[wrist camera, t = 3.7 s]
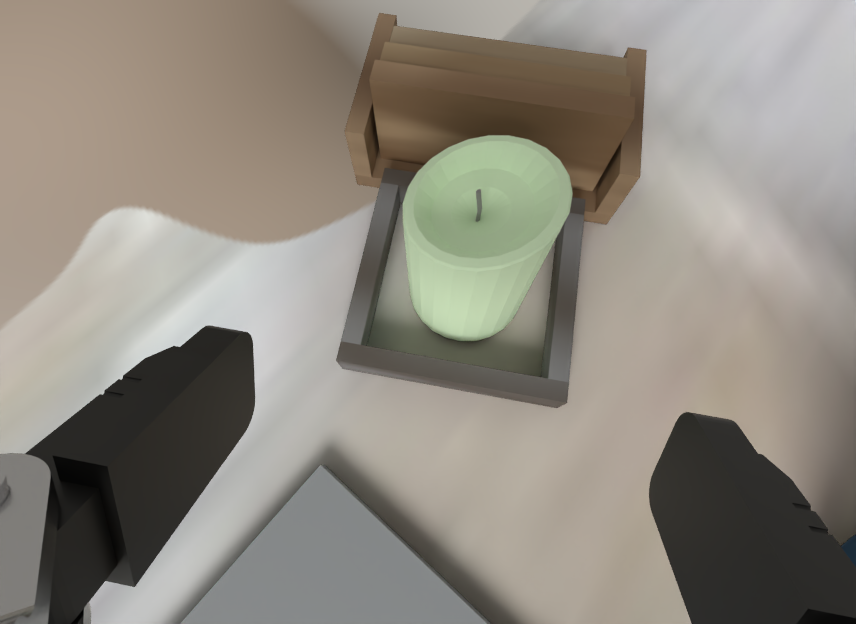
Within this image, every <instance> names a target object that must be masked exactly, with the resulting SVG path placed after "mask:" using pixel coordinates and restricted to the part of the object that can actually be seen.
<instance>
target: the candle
mask: <svg viewBox="0 0 856 624" xmlns="http://www.w3.org/2000/svg"><path fill="white" fill-rule="evenodd" d="M572 195H573V192H572V187H571V182H570V176H569V174H568V173H567V171H566V169H565V167H564V166H563V164H562V162H561V161H560V160H559V159H558V158H557V157H556V156H555V155H554V154H553V153H551V152H550V151H549V150H548V149H547V148H545V147H543V146H541V145H539V144H537V143H535V142H533V141H531V140H528V139H524V138H519V137H514V136H510V135H488V136H483V137H478V138H473V139H468V140H465V141H463V142H460V143H458V144H455V145H453V146H450V147H448V148H446V149H445V150H443V151H442V152H440V153H439V154H437V155H436V156H434V157H432V158H431V159H430V160H429V161H428V162H427V163H426V164H425V165H424V166H423V167H422V168H421V169H420V170H419V171H418V172H417V174H416V175H415V177H414V178H413V180H412V181H411V183H410V185H409V186H408V188H407V192H406V195H405V198H404V201H403V229H404V239H405V249H406V259H407V269H408V279H409V289H410V297H411V300H412V303H413V307H414V309H415V311H416V312H417V314H418V316H419V317H420V319H421V320H422V322H424V323H425V324H426V325H427V326H428V327H429V328H430V329H431V330H432V331H434V332H436V333H438V334H440V335H442V336H443V337H445V338H449V339H453V340H457V341H478V340H481V339H485V338H488V337H491V336H493V335H494V334H496V333H498V332H500V331H501V330H503V329H504V328H505V327H506V326H507V325H508V324H509V323H510V322H511V320H512V319H513V318H514V316H515V314H516V312H517V310H518V308H519V307H520V305H521V303H522V301H523V299H524V297H525V295H526V294H527V292H528V290H529V288H530V286H531V284H532V282H533V281H534V279H535V277H536V275H537V273H538V271H539V269H540V267H541V266H542V264H543V262H544V260H545V258H546V256H547V254H548V253H549V251H550V249H551V247H552V245H553V243H554V241H555V239H556V238H557V236H558V234H559V232H560V230H561V228H562V226H563V224H564V222H565V220H566V219H567V217H568V215H569V213H570V207H571V201H572Z"/></svg>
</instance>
